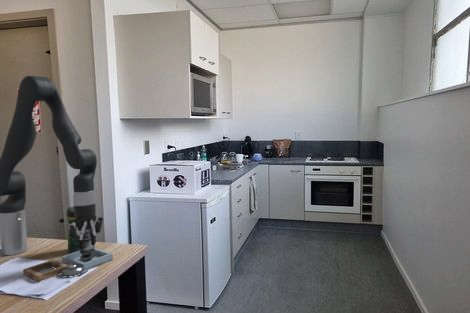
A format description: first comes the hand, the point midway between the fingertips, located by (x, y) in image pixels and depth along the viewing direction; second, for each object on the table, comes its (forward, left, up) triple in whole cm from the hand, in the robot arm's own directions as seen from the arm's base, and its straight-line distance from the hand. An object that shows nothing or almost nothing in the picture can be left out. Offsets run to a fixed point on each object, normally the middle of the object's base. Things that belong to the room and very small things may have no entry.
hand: (86, 246), depth 131 cm
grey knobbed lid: (+5, -9, -6) cm, 12 cm away
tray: (0, 0, -6) cm, 6 cm away
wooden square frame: (-3, -14, -6) cm, 15 cm away
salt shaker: (0, 0, -4) cm, 4 cm away
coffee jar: (-14, +6, -6) cm, 16 cm away
